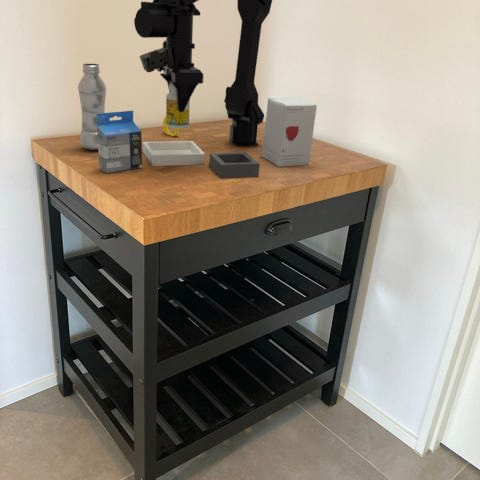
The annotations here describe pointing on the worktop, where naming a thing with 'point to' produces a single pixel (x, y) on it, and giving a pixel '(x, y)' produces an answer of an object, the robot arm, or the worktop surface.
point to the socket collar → (233, 165)
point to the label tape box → (118, 142)
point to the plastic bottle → (91, 104)
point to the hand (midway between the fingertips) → (177, 108)
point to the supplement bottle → (176, 111)
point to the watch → (168, 129)
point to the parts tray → (173, 153)
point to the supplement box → (288, 131)
